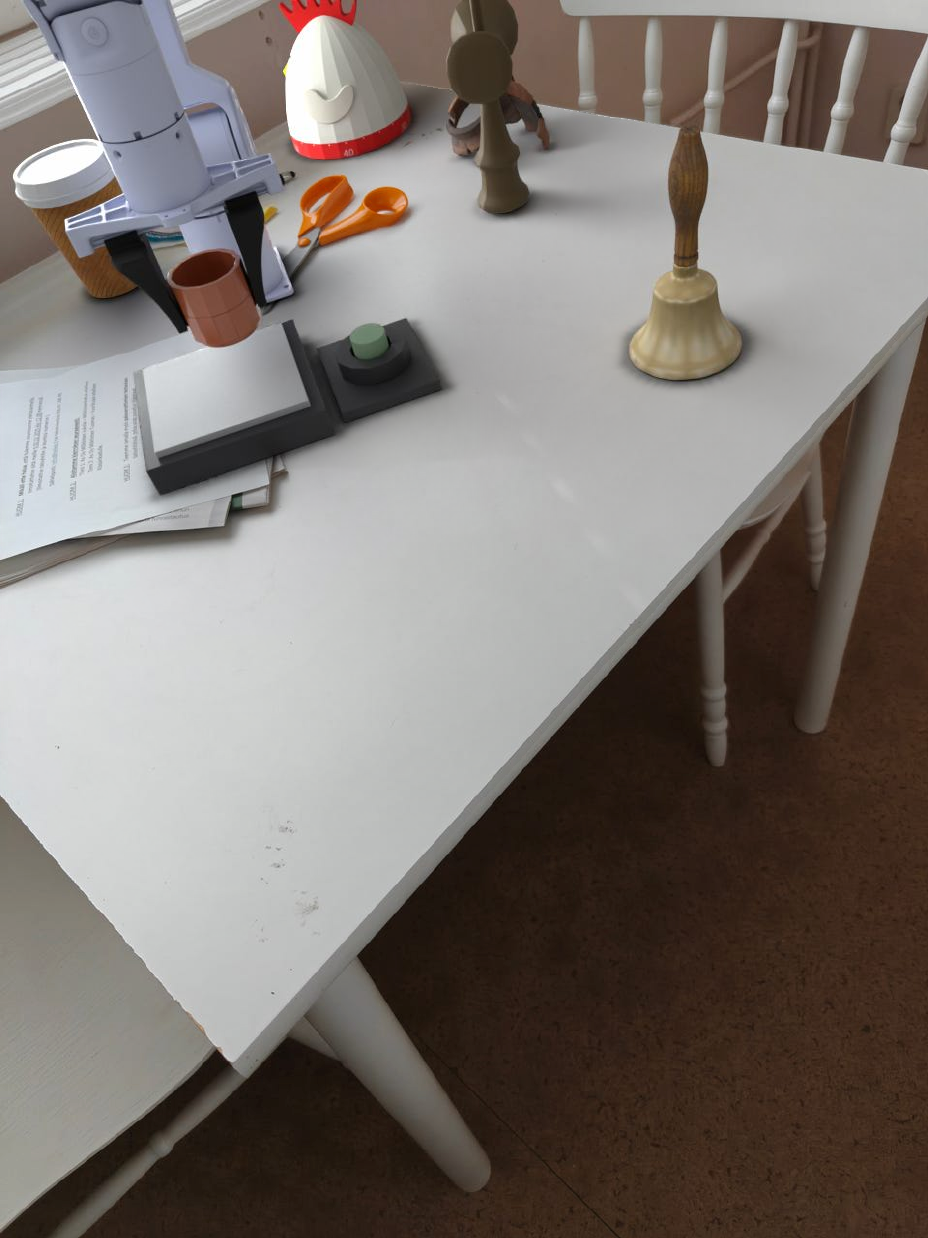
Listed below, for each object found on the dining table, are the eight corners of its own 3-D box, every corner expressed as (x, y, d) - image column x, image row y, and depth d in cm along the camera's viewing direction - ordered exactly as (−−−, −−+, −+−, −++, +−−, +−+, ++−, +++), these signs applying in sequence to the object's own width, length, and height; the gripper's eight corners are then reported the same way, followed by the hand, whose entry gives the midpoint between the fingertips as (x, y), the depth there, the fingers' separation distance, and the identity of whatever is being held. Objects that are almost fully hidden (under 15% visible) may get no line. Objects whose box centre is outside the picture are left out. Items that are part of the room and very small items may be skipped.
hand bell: (648, 311, 74) (643, 100, 62) (754, 321, 71) (770, 100, 59) (614, 374, 69) (601, 160, 57) (725, 388, 66) (736, 164, 54)
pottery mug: (558, 165, 93) (511, 105, 88) (482, 211, 99) (433, 157, 93) (554, 85, 99) (510, 23, 93) (483, 133, 104) (437, 77, 98)
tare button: (351, 346, 74) (346, 330, 73) (384, 335, 74) (379, 318, 73) (359, 364, 72) (353, 347, 71) (392, 353, 73) (388, 336, 71)
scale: (145, 395, 79) (129, 365, 77) (301, 342, 80) (290, 312, 78) (159, 495, 70) (142, 465, 68) (335, 434, 71) (324, 402, 69)
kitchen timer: (307, 112, 113) (266, -31, 101) (417, 96, 110) (387, -53, 99) (282, 166, 104) (234, 16, 93) (401, 149, 101) (366, -8, 90)
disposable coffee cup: (84, 319, 89) (17, 198, 80) (65, 280, 95) (0, 163, 86) (175, 280, 91) (119, 157, 82) (151, 245, 97) (96, 126, 88)
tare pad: (319, 356, 78) (310, 331, 76) (408, 326, 79) (402, 300, 77) (344, 423, 72) (336, 396, 70) (442, 389, 72) (436, 362, 70)
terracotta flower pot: (189, 323, 71) (162, 263, 68) (257, 300, 72) (234, 240, 68) (198, 359, 68) (170, 298, 64) (269, 335, 68) (245, 272, 64)
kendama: (536, 176, 92) (508, -64, 77) (534, 225, 86) (504, -25, 71) (476, 184, 93) (437, -51, 78) (471, 233, 87) (427, -11, 72)
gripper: (29, 182, 55) (131, 372, 66) (260, 108, 56) (324, 306, 67) (29, 140, 60) (124, 324, 70) (243, 73, 61) (305, 263, 71)
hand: (221, 312), depth 69 cm, fingers closed on terracotta flower pot, 5 cm apart
